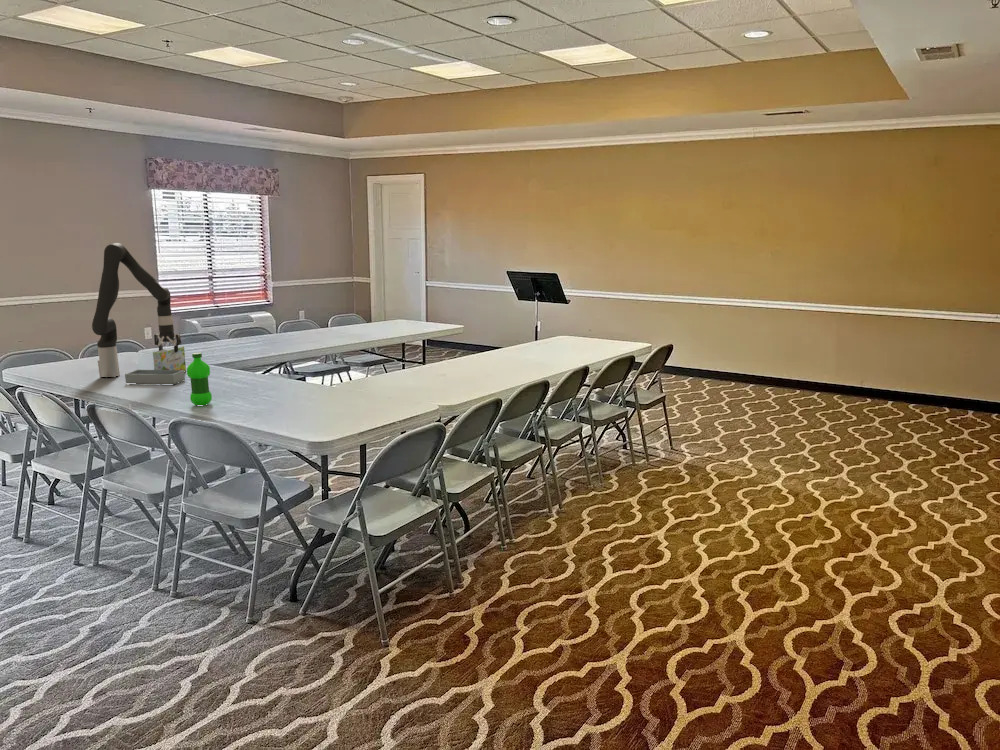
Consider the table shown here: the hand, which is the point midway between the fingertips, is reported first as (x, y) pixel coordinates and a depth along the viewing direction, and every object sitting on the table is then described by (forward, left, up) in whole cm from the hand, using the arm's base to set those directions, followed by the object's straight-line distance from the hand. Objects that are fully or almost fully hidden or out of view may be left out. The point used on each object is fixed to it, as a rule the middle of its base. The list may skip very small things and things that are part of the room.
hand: (169, 352), depth 414 cm
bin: (+1, -19, -13) cm, 23 cm away
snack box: (0, 0, -13) cm, 13 cm away
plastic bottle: (+49, -64, -13) cm, 81 cm away
